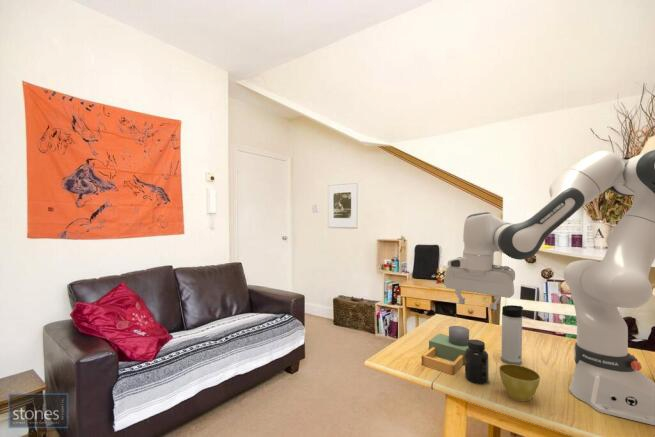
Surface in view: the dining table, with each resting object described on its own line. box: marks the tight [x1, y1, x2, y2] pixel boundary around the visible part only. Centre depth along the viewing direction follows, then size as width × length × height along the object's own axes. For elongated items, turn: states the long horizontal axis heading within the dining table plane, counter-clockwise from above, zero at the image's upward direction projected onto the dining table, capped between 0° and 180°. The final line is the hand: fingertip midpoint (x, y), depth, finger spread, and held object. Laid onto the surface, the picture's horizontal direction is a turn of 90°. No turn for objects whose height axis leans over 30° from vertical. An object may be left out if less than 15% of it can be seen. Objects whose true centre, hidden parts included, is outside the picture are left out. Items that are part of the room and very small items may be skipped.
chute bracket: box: [421, 347, 464, 376], centre depth 110 cm, size 11×10×3 cm
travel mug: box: [500, 304, 524, 366], centre depth 113 cm, size 6×7×20 cm
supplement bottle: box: [464, 339, 490, 385], centre depth 100 cm, size 7×7×12 cm
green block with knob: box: [428, 325, 470, 366], centre depth 118 cm, size 14×10×10 cm
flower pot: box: [498, 363, 541, 402], centre depth 91 cm, size 10×10×7 cm
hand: (477, 306), depth 100 cm, fingers open, 8 cm apart
